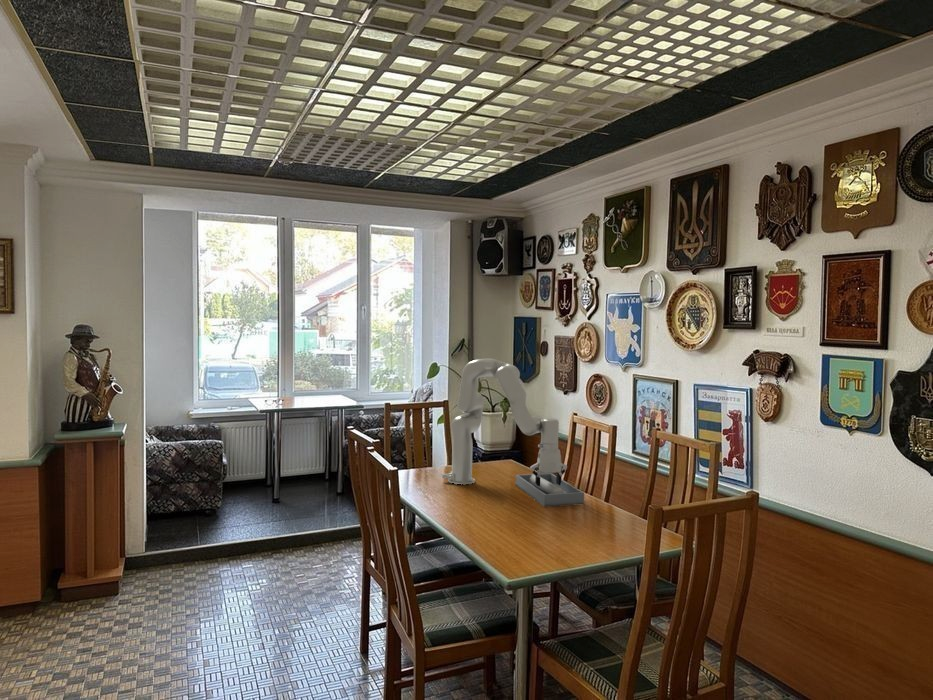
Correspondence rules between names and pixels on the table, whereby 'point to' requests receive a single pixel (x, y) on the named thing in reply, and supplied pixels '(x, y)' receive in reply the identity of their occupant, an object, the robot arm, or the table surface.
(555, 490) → the tube
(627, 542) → the table surface
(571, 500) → the bin
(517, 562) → the table surface
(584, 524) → the table surface
